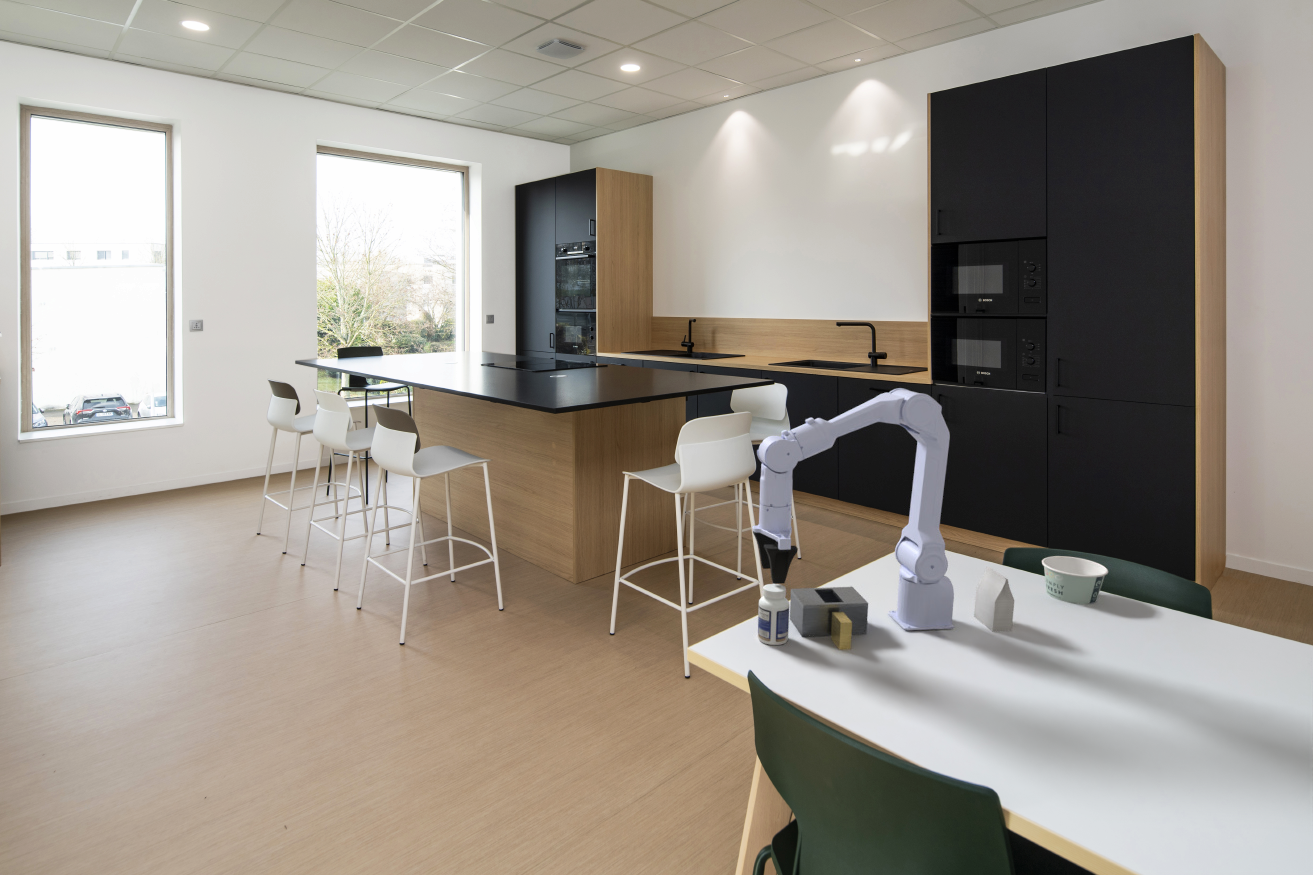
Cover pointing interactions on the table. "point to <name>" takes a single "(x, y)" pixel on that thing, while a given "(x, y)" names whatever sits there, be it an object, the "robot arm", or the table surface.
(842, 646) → the block
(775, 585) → the pill bottle
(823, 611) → the grey slotted block
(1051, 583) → the food container
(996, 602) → the white gabled box
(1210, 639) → the table surface
